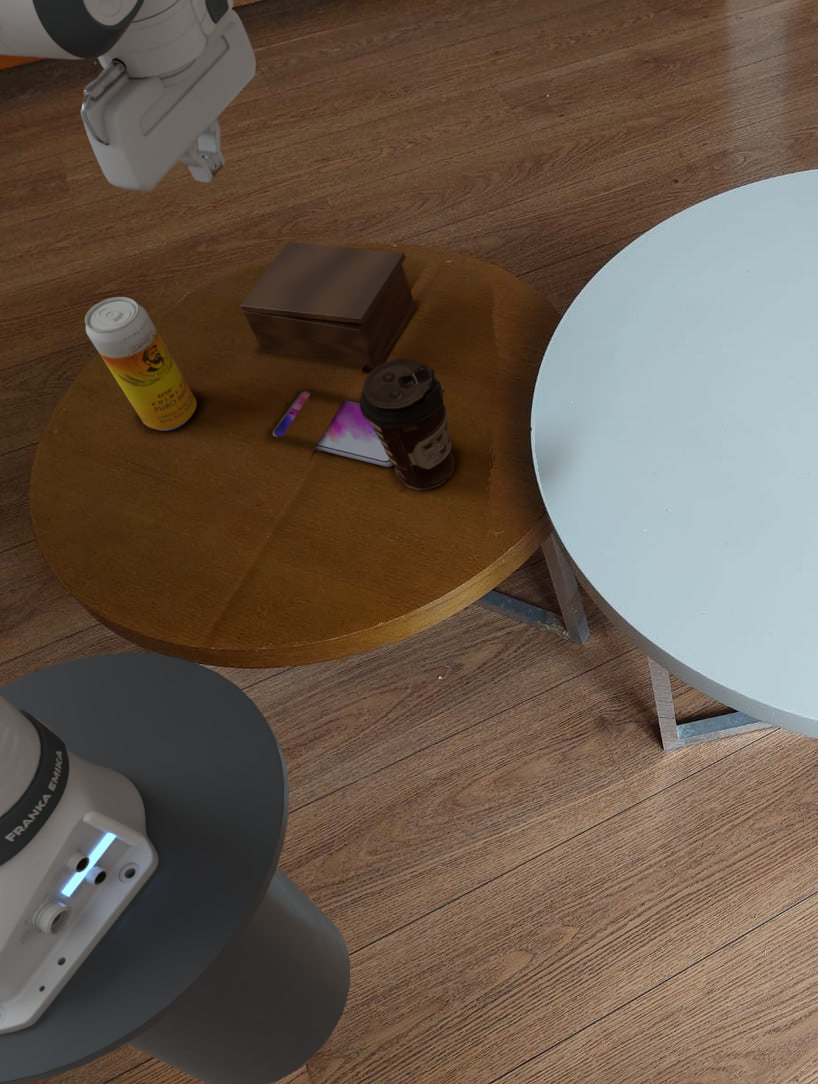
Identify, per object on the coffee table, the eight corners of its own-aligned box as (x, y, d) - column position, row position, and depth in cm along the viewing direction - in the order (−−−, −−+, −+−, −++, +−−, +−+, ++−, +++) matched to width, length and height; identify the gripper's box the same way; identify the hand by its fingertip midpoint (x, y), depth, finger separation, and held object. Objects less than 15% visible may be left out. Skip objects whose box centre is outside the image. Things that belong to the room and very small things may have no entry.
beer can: (177, 439, 123) (115, 339, 111) (132, 426, 125) (67, 325, 113) (210, 403, 127) (154, 302, 115) (167, 390, 128) (107, 288, 116)
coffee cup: (479, 446, 122) (454, 360, 111) (451, 504, 117) (422, 419, 106) (405, 434, 123) (374, 348, 112) (375, 490, 118) (339, 405, 108)
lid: (406, 258, 129) (403, 252, 128) (363, 324, 122) (361, 318, 122) (290, 247, 132) (287, 241, 132) (242, 311, 126) (239, 305, 125)
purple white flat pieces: (390, 464, 119) (269, 435, 122) (392, 470, 120) (272, 440, 123) (420, 417, 123) (302, 389, 126) (422, 422, 124) (305, 394, 127)
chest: (416, 308, 135) (402, 264, 130) (376, 373, 129) (359, 330, 123) (308, 291, 138) (290, 247, 132) (264, 355, 131) (242, 311, 126)
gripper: (109, 104, 86) (183, 247, 97) (237, -24, 98) (291, 117, 109) (39, 95, 87) (120, 237, 98) (175, -30, 99) (234, 109, 110)
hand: (211, 173), depth 104 cm, fingers closed
